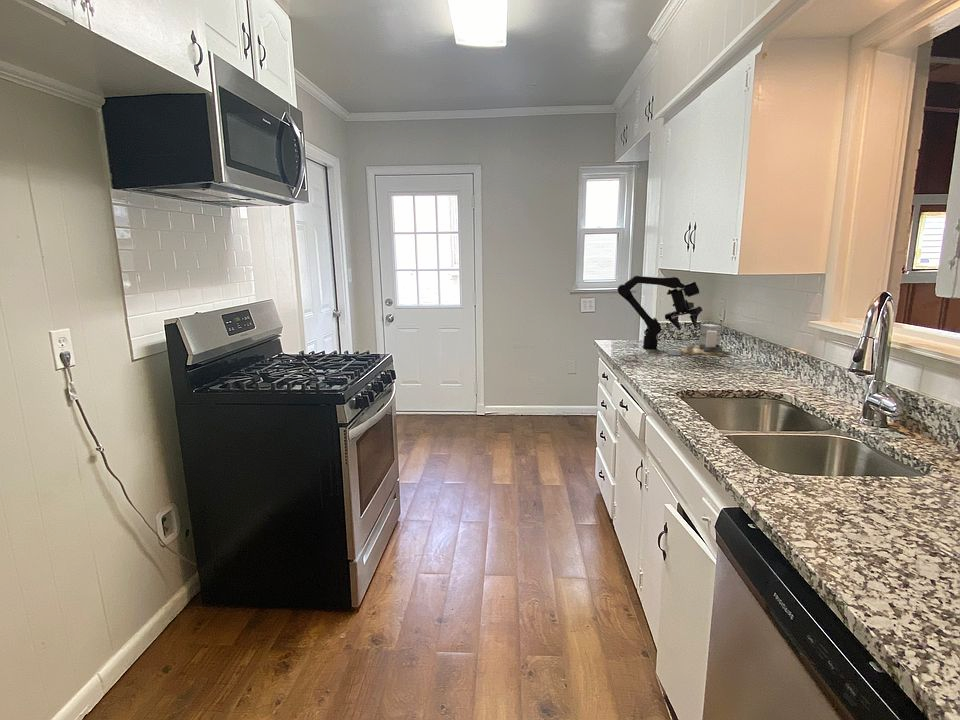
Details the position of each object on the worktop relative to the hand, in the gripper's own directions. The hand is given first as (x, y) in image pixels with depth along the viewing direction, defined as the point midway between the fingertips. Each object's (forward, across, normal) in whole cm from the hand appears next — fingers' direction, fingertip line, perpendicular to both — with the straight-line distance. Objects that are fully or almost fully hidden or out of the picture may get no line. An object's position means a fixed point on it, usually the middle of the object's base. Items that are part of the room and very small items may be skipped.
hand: (687, 328), depth 272 cm
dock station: (+12, -5, +4) cm, 14 cm away
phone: (+8, 0, +18) cm, 20 cm away
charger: (+13, -8, 0) cm, 16 cm away
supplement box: (+15, -2, -10) cm, 18 cm away
